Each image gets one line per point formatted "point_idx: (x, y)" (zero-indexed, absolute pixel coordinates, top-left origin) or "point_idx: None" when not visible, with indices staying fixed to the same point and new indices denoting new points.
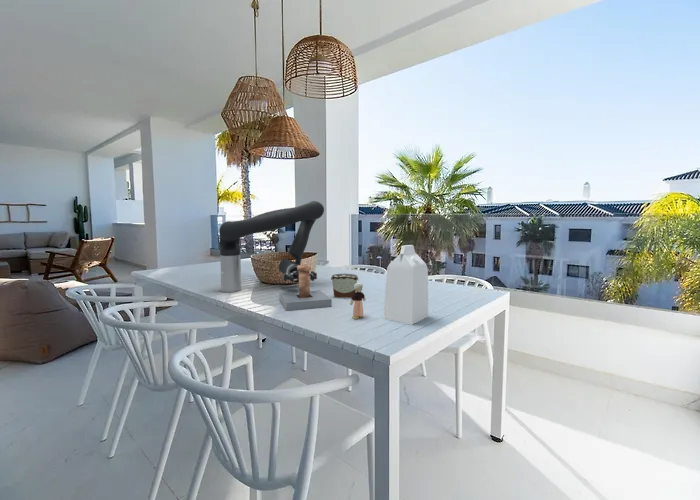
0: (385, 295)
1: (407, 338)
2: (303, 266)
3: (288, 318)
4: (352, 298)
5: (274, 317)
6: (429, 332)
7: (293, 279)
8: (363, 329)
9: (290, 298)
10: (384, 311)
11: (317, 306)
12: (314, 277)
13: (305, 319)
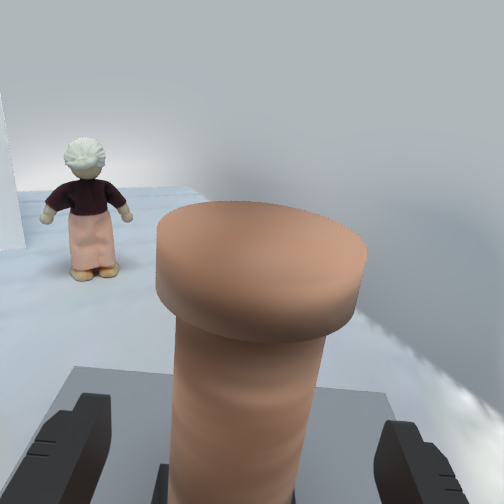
0: (12, 167)
1: None
2: (278, 219)
3: (353, 337)
4: (123, 197)
5: (418, 363)
6: (37, 192)
7: (381, 442)
8: (154, 229)
9: (366, 492)
10: (21, 224)
11: None
12: (63, 424)
13: None
